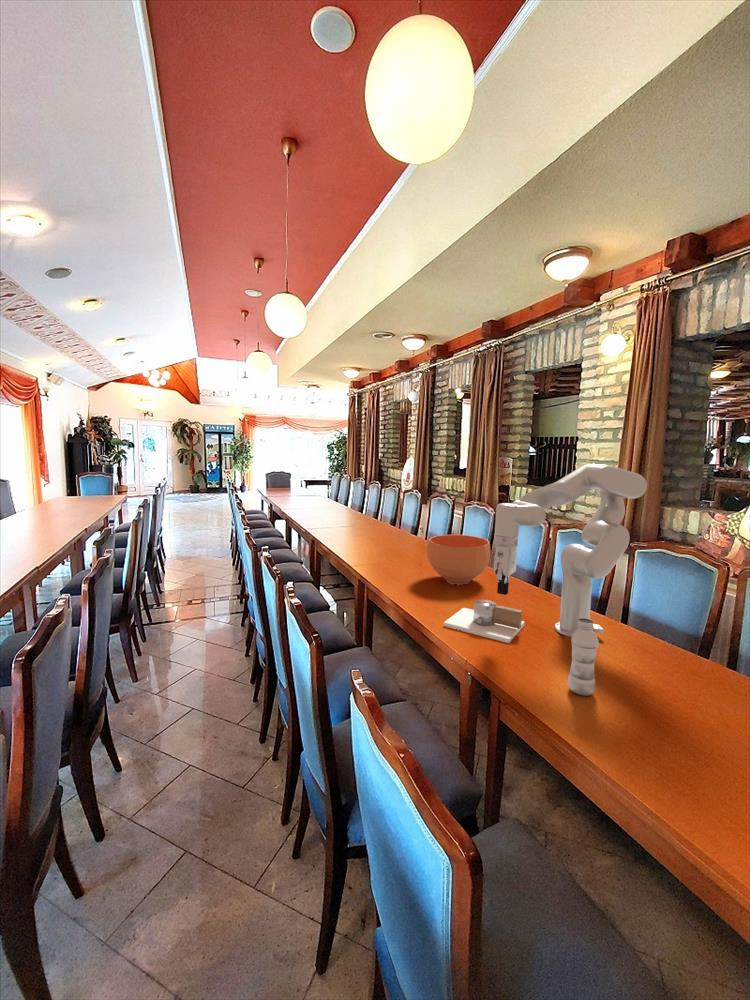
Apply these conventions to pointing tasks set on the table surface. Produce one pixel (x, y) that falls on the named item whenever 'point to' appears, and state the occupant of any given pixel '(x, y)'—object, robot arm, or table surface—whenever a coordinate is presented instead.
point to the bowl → (458, 557)
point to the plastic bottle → (583, 658)
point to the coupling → (496, 614)
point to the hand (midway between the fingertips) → (502, 593)
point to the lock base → (481, 626)
